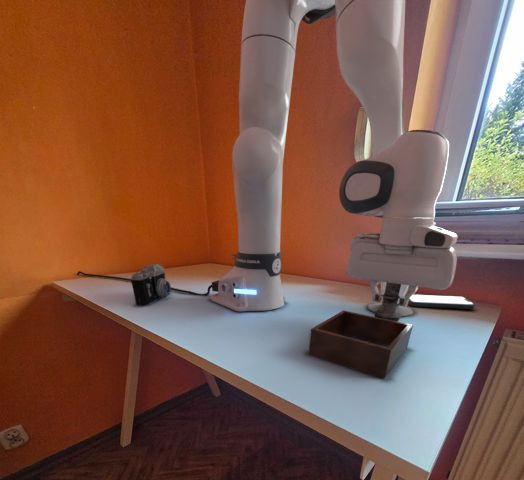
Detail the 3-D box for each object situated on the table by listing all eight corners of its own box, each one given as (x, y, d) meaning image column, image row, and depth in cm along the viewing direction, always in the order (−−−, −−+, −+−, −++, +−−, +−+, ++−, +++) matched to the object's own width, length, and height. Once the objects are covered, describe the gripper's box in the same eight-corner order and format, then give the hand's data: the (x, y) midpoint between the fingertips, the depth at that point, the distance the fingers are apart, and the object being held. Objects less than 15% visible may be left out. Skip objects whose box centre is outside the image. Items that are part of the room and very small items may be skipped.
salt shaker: (381, 334, 58) (393, 278, 53) (365, 324, 64) (374, 272, 58) (404, 331, 60) (418, 276, 55) (386, 322, 65) (397, 271, 60)
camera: (155, 307, 76) (149, 270, 71) (133, 305, 77) (125, 269, 72) (178, 293, 89) (174, 261, 84) (159, 292, 90) (153, 261, 85)
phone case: (410, 307, 76) (475, 310, 73) (411, 301, 76) (477, 304, 72) (403, 299, 84) (462, 301, 81) (404, 293, 83) (463, 296, 80)
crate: (308, 353, 50) (310, 328, 48) (340, 331, 60) (343, 310, 57) (384, 379, 43) (391, 350, 40) (406, 349, 52) (413, 324, 50)
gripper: (346, 233, 57) (338, 298, 63) (464, 237, 45) (439, 317, 51) (358, 231, 61) (349, 292, 67) (467, 235, 49) (445, 308, 56)
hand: (389, 303), depth 59 cm, fingers open, 4 cm apart
